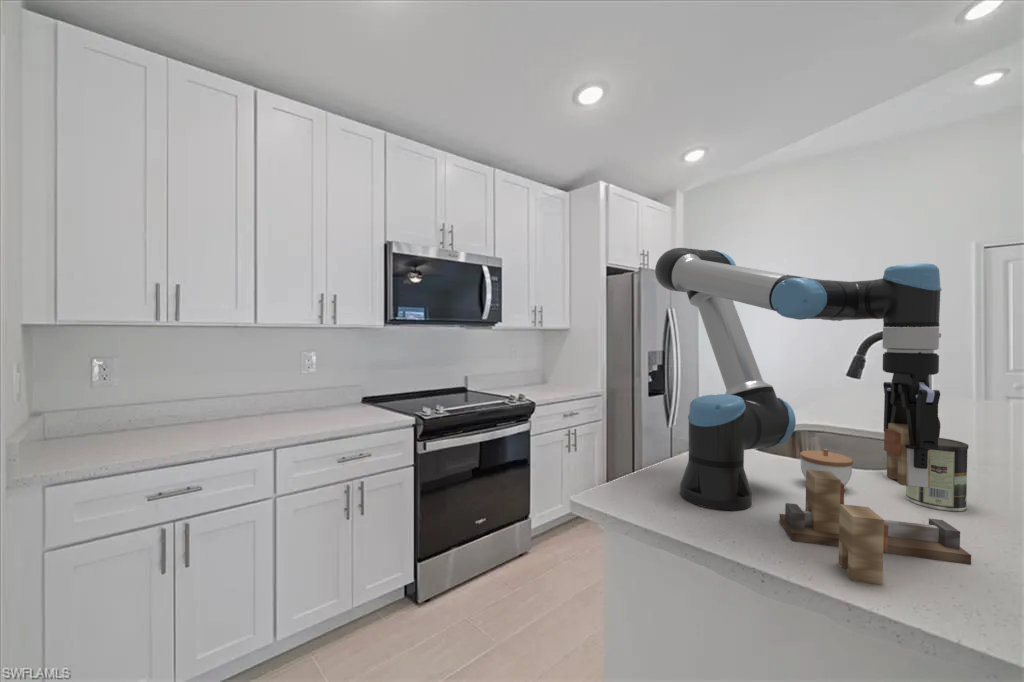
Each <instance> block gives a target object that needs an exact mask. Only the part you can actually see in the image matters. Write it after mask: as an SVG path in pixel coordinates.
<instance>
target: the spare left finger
mask: <svg viewBox="0 0 1024 682" xmlns="http://www.w3.org/2000/svg"><path fill="white" fill-rule="evenodd" d="M884 520H885V519H884V518H882V517H881V516H880V515H879V514H877V513H876V512H875V511H874V510H873V509H872V508H870V507H869V506H861V505H853V504H845V503H844V504H840V516H839V547H838V561H837V562H838V565H839V566H840V568H842V569H845V570H846V569H847V576H848V578H849V579H850V580H851V581H856V582H860V583H861V582H862V583H866V584H867V583H868V584H873V585H874V584H875V585H880V586H883V580H884V579H883V578H884V577H883V575H884V571H883V570H884V553H883V551H888V525H887V524H886V523H885V522H884Z"/></svg>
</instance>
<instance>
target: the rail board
mask: <svg viewBox="0 0 1024 682" xmlns="http://www.w3.org/2000/svg"><path fill="white" fill-rule="evenodd" d="M784 507H785V509H784V510H785V511H784V513H779V522H780V524H781V525H782V527H783V529H784V530H785V532H786V534H788V536H789V538H790V539H791V541H793V542H799V543H808V544H815V545H823V546H830V547H832V546H833V547H838V548H839V534H832V533H824V532H816V531H813V529H812V512H810V511H805V510H802V508H801V507H800V506H799V505H798V504H797V503H789V502H785V505H784ZM883 520H884V522H885V523H886V524H887V525H888V551H883V554H884V553H885V554H891V555H892V554H893V555H901V556H907V557H908V556H909V557H915V558H916V557H917V558H922V559H929V560H930V559H931V560H937V561H939V560H940V561H945V562H953V563H961V564H966V565H967V564H968V565H971V564H972V554H971V553H969V552H968V551H966V550H965V549H964V548H962V547H961V531H960V530H958V529H957V528H956V527H954V526H952V525H951V524H949V523H948V522H947V521H945V520H944V519H936V518H928V524H925V523H916V522H908V521H907V522H906V521H900V520H899V521H897V520H890V519H883Z"/></svg>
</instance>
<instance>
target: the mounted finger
mask: <svg viewBox="0 0 1024 682" xmlns="http://www.w3.org/2000/svg"><path fill="white" fill-rule="evenodd" d="M840 504H844V505H845V486H844V484H843V483H841V480H840V479H839V478H837V477H836V476H835V475H834V474H832V473H831V472H828V471H817V470H806V479H805V510H804V511H810V512H812V529H813V531H816V532H824V533H832V534H839V516H840Z"/></svg>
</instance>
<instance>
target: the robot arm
mask: <svg viewBox="0 0 1024 682" xmlns="http://www.w3.org/2000/svg"><path fill="white" fill-rule="evenodd" d="M654 271H655V273H654V274H655V279H656V280H657V282H658V283H659V284H660V286H662V287H663V288H665V289H667V290H669V291H673V292H674V291H675V292H682V293H686V295H687V298H688V301H689V303H690V305H692V306H693V307H694V306H695V307H697V308H698V311H699V313H700V316H701V319H702V323H703V325H704V328H705V332H706V335H707V337H708V340H709V343H710V345H711V349H712V352H713V354H714V357H715V361H716V363H717V366H718V368H719V372H720V376H721V378H722V381H723V383H724V386H725V391H726V392H725V393H724V394H722V393H720V394H719V393H717V394H706V395H701V396H698V397H695V398H694V399H693V400H692V401H691V402H690V404H689V412H688V416H687V419H688V460H687V461H688V462H687V466H686V468H685V471H684V472H683V476H682V478H681V481H680V485H679V495H680V496H681V497H682V498H683V499H684V500H685V501H688V502H690V503H691V504H695V505H697V506H700V507H705V508H709V509H714V510H721V511H724V510H725V511H739V510H740V511H741V510H745V509H748V508H750V507H751V506H752V504H753V492H752V490H751V486H750V483H749V480H748V476H747V473H746V471H745V467H744V466H745V465H744V463H745V457H744V456H745V451H746V450H748V451H749V450H754V449H761V448H762V449H763V448H765V449H766V448H767V449H768V448H772V447H776V446H778V445H779V446H780V445H782V444H784V443H785V442H787V441H788V440H790V438H791V437H792V435H793V433H794V431H795V428H796V424H797V423H796V415H795V412H794V409H793V408H792V406H791V405H790V404H789V403H788V402H787V401H785V400H784V399H783V398H781V397H777V394H776V391H775V389H774V387H773V385H771V384H769V383H767V382H765V381H764V380H763V377H762V374H761V372H760V369H759V366H758V364H757V362H756V358H755V355H754V353H753V351H752V348H751V345H750V343H749V339H748V337H747V335H746V332H745V329H744V326H743V323H742V321H741V319H740V316H739V314H738V313H739V312H738V310H737V308H736V305H735V303H734V302H738V303H742V304H745V305H749V306H754V307H757V308H761V309H765V310H768V311H773V312H776V313H777V314H778V315H780V316H781V317H783V318H784V317H785V318H787V319H794V320H799V321H800V320H802V321H803V320H823V321H833V322H834V321H835V322H837V321H838V322H840V321H847V320H848V321H851V320H853V321H854V320H855V321H856V320H883V324H882V325H883V327H882V348H883V349H884V350H886V351H885V352H884V353H883V354H882V371H883V372H885V373H887V374H888V373H889V374H892V378H891V382H890V381H889V382H888V381H884V382H883V392H884V404H883V405H884V407H883V409H884V410H883V430H884V429H888V423H897V424H908V430H909V439H910V445H905V447H906V448H907V475H906V484H907V485H908V486H919V487H928V451H929V450H931V449H937V448H938V418H939V402H940V399H941V398H940V397H941V392H940V391H941V390H938V389H931V388H930V384H929V378H928V377H929V376H930V375H931V376H932V375H933V376H934V375H937V374H938V373H939V371H940V355H938V353H935V351H937V350H939V349H940V348H939V346H940V338H941V337H942V334H941V332H940V309H941V308H940V307H941V291H942V287H941V276H940V275H941V273H940V269H939V267H938V266H937V265H936V264H932V263H906V264H905V263H904V264H899V265H898V264H897V265H893V266H888V267H886V268H885V270H884V273H883V276H882V277H883V278H882V277H881V278H878V279H877V278H876V279H871V280H858V281H856V280H855V281H846V280H845V281H842V280H832V279H816V278H809V277H805V276H798V275H791V274H786V273H779V272H774V271H769V270H768V271H767V270H762V269H757V268H751V267H745V266H741V265H739V266H738V265H737V264H736V262H735V261H734V259H733V258H732V256H730V255H729V254H727V253H725V252H721V251H718V250H715V249H713V250H712V249H707V250H704V249H697V248H687V247H676V248H675V247H674V248H671V249H669V250H667V251H665V252H664V253H663V254H662V255H661V256H659V258H658V260H657V261H656V264H655V270H654Z"/></svg>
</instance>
